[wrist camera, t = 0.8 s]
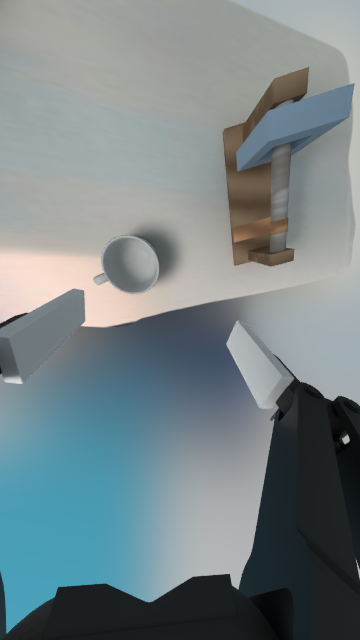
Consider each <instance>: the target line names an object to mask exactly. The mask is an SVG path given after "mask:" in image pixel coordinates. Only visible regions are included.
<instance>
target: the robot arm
mask: <svg viewBox="0 0 360 640" xmlns="http://www.w3.org/2000/svg"><path fill="white" fill-rule="evenodd" d="M84 322H85V302H84V291H83V290H78V289H72V290H70V291H68V292H66V293H65V294H63V295H61V296H59V297H57V298H55V299H54V300H52V301H50V302H48V303H46V304H44V305H43V306H41V307H39V308H37V309H35V310H33V311H32V312H30V313H24V314H20V315H17V316H14V317H12V318H10V319H8V320H6V322H5V321H4V322H2V323H0V374H1V373H2V375H3V378H4V381H5V382H9V383H18V384H23V383H24V382H25V381H26V380H27V379H28V378H29V377H30V376H31V375H32V374H33V373H34V372H35V371H36V370H37V369H38V368H39V367H40V366H41V365H42V364H43V363H44V362H45V361H46V360H47V359H48V358H49V357H50V356H51V355H52V354H53V353H54V352H55V351H56V350H57V349H58V348H59V347H60V346H61V345H62V344H63V343H64V342H65V341H66V340H67V339H68V337H70V336H71V335H72V334H73V333H74V332H75V331H76V330H77V329H78V328H79V327H80V326H81V325H82V324H83V323H84ZM227 347H228V348H229V350H230V352H231V354H232V356H233V358H234V360H235V362H236V364H237V366H238V368H239V369H240V371H241V373H242V375H243V377H244V379H245V381H246V383H247V385H248V387H249V389H250V390H251V392H252V394H253V396H254V398H255V400H256V402H257V403H258V406H259V407H260V408H264V409H271V408H272V407H273V405H274V404H275V403H276V404H277V406H278V407H279V409H278V410H277V411H276V413H275V414H274V415H273V416H272V417H271V419H270V420H271V421H272V420H273V419H275V421H274V427H273V433H272V439H271V444H270V450H269V456H268V462H267V468H266V473H265V479H264V485H263V491H262V497H261V503H260V508H259V514H258V520H257V526H256V532H255V537H254V544H253V548H252V552H251V555H250V557H249V559H248V561H247V563H246V565H245V568H244V571H243V573H242V577H241V581H240V585H239V590H238V589H236V588H235V587H233V586H232V584H231V578H230V574H224V575H211V576H198V577H192V578H190V579H189V580H187V581H185V582H184V583H182V584H180V585H179V586H177V587H176V588H174V589H172V590H171V591H169V592H167V593H166V594H164V595H163V596H161V597H159V598H158V599H156V600H155V601H153V602H145V601H143V600H140V599H138V598H136V597H134V596H132V595H130V594H127V593H125V592H123V591H121V590H119V589H116V588H114V587H112V586H110V585H108V584H94V585H81V586H68V587H58V589H57V593H56V596H55V597H54V598H53V599H51V600H49V601H47V602H45V603H44V604H42V605H41V606H39V607H38V608H36V609H35V610H34V611H32V612H31V613H29V614H28V615H27V616H26V617H25V618H24V619H22V620H21V621H20V622H19V623H18V624H17V625H15V626H14V627H13V628H12V629H11V630H10V631H9V632H8V633H7V634H6V608H5V593H4V586H3V581H2V577H1V573H0V640H360V579H359V574H358V568H357V563H358V566H359V569H360V406H359V405H358V404H357V403H355V402H354V401H352V400H349V399H348V398H346V397H342V396H338V397H337V398H336V399H335V400H334V401H331V400H329V399H326V398H324V396H323V395H322V394H321V393H320V392H319V391H318V390H317V389H316V388H314V387H313V386H311V385H309V384H307V383H302V382H300V381H299V380H298V379H297V378H296V377H295V376H294V375H293V374H292V373H291V371H290V370H289V369H288V368H287V367H286V366H285V365H284V364H283V362H282V361H281V360H280V359H279V358H278V357H277V356H275V355H274V354H273V353H272V352H271V351H270V350H269V349H268V348H267V347H266V345H265V344H264V343H263V342H262V341H261V340H260V339H259V338H258V336H257V335H256V334H255V333H254V332H253V331H252V330H251V328H250V327H249V326H248V325H247V324H246V323H245V322H244V321H239V320H237V321H236V324H235V326H234V328H233V331H232V333H231V335H230V337H229V339H228V342H227ZM347 434H348V436H349V438H350V441H349V442H348V443H347V444H344V443H343V441H342V438H344V437H345V436H346V435H347ZM355 557H356V558H355ZM356 560H357V563H356Z"/></svg>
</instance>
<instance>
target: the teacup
mask: <svg viewBox="0 0 360 640" xmlns="http://www.w3.org/2000/svg"><path fill="white" fill-rule="evenodd" d="M101 264H102V268H103V271H104V273H102V274H100V275H98V276H96V277H94V278H93V280H94V282H95V283H96V284H97V285H100V284H102V283H105V282H107V281H109V282H110V283H111V284H112V285H113V286H114V287H115V288H117V289H118V290H120V291H122V292H125V293H128V294H140V293H144V292H146V291H148V290H149V289H151V288H152V287H153V286H154V284H155V283H156V281H157V279H158V276H159V259H158V255H157V253H156V251H155V249H154V248H153V246H152V245H151V244H150V243H149V242H148V241H146V240H145V239H143V238H141V237H138V236H131V235H121V236H118V237H115V238H113V239H112V240H111V241H109V242H108V243H107V244H106V246H105V247H104V250H103V252H102V256H101Z"/></svg>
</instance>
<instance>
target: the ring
mask: <svg viewBox="0 0 360 640" xmlns="http://www.w3.org/2000/svg"><path fill="white" fill-rule="evenodd" d="M353 89H354V84H351V85H348V86H344V87H341V88H338V89H335V90H332V91H329V92H326V93H323V94H319V95H316V96H313V97H310V98H307V99H304V100H301V101H298V102H294V103H291V104H288V105H285V106H282V107H279V108H276V109H273V110H269V111H268V112H267V113H266V114H265V116H264V117H263V118H262V119H261V121H260V122H259V123H258V125H257V126H256V127H255V129H254V130H253V131H252V132H251V134H250V135H249V136H248V138H247V139H246V140H245V141H244V143H243V144H242V145H241V147H240V148H239V149H238V151H237V152H236V157H237V172H238V171H241V170H245V169H248V168H251V167H255V166H258V165H261V164H265V163H268V162H271V156H272V148H273V147H275V146H279V145H282V144H285V143H288V142H291V155H293V154H295V153H296V152H298V151H299V150H301V149H302V148H304V147H305V146H307V145H308V144H309V143H311V142H312V141H314V140H315V139H317V138H318V137H320V136H321V135H323V134H324V133H326V132H327V131H329V130H330V129H332V128H333V127H335V126H336V125H338V124H339V123H341V122H342V121H344V120H345V119H346V118H348V117H349V113H350V107H351V101H352V95H353Z"/></svg>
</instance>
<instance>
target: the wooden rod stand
mask: <svg viewBox="0 0 360 640" xmlns="http://www.w3.org/2000/svg"><path fill="white" fill-rule="evenodd" d="M308 72H309V67H308V68H305V69H302V70H299V71H296V72H293V73H290V74H287V75H284V76H281V77H278V78H275V79H274V80H273V82H272V83H271V85H270V86H269V88H268V89H267V91H266V92H265V94H264V95H263V97H262V98H261V100H260V101H259V103H258V104H257V106H256V107H255V109H254V111H253V112H252V114H251V115H250V117H249V118H248V120H247V121H246V122H245V123H242V124H239V125H236V126H233V127H230V128H227V129H224V131H223V140H224V152H225V163H226V175H227V187H228V199H229V210H230V222H231V234H232V245H233V257H234V265H239V264H243V263H247V262H251V261H253V262H257V263H260V264H264V265H268V266H275V265H279V264H283V263H286V262H290V261H293V259H294V249H290V248H286V232H287V231H288V218H287V213H288V195H289V178H290V160H291V142H288V143H285V144H282V145H279V146H275V147H273V148H272V156H271V162H268V163H265V164H261V165H258V166H255V167H251V168H248V169H245V170H241V171H238V172H237V157H236V152H237V151H238V149H239V148H240V147H241V145H242V144H243V143H244V141H245V140H246V139H247V138H248V136H249V135H250V134H251V132H252V131H253V130H254V129H255V127H256V126H257V125H258V123H259V122H260V121H261V119H262V118H263V117H264V116H265V114H266V113H267V112H268V111H269V110H273V109H276V108H279V107H282V106H285V105H288V104H291V103H294V102H298V101H300V100H301V99H302V98H303V96H304V95H305V94H306V93H307V85H308Z"/></svg>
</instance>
